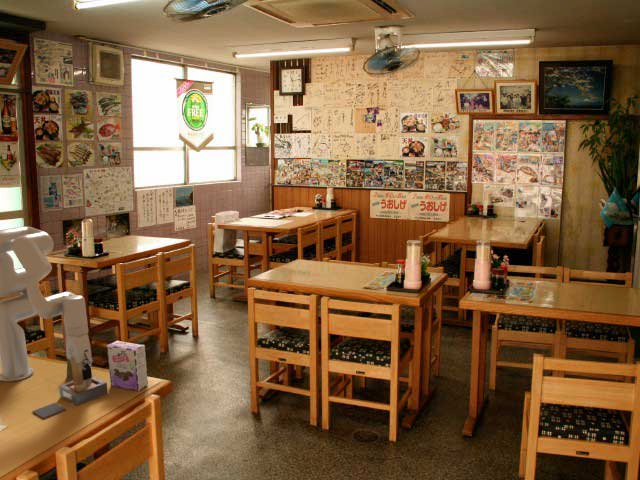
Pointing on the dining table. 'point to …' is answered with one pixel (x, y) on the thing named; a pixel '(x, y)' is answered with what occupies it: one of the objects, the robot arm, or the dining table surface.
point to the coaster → (49, 410)
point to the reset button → (82, 389)
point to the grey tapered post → (69, 369)
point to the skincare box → (79, 375)
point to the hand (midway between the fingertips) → (82, 376)
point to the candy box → (127, 365)
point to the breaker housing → (83, 392)
